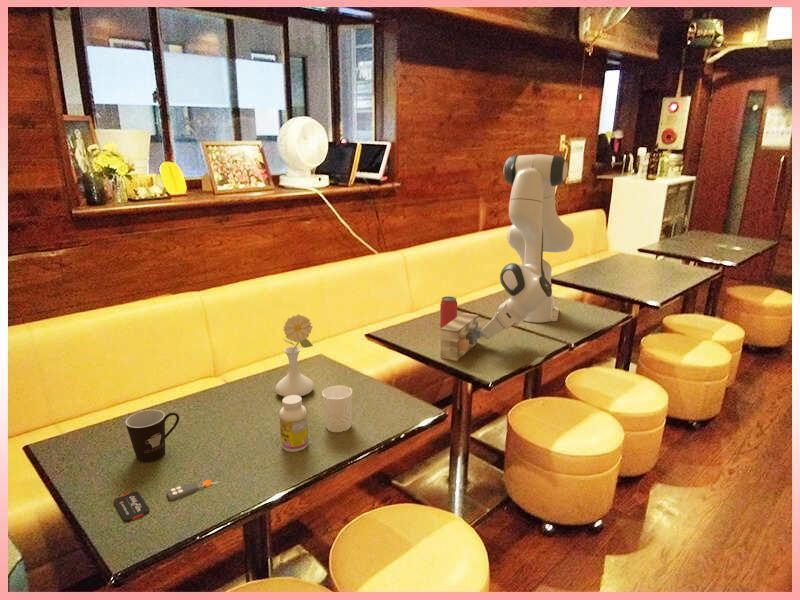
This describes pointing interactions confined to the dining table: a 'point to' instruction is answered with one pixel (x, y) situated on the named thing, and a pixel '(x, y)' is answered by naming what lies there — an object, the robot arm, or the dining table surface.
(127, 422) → the coffee mug
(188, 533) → the dining table surface
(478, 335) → the slate-blue button
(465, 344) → the terracotta button
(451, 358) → the block
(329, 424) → the white cup
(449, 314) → the beer can
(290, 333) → the flower in vase
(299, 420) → the supplement bottle
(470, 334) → the charcoal button
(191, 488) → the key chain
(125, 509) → the black flat block
